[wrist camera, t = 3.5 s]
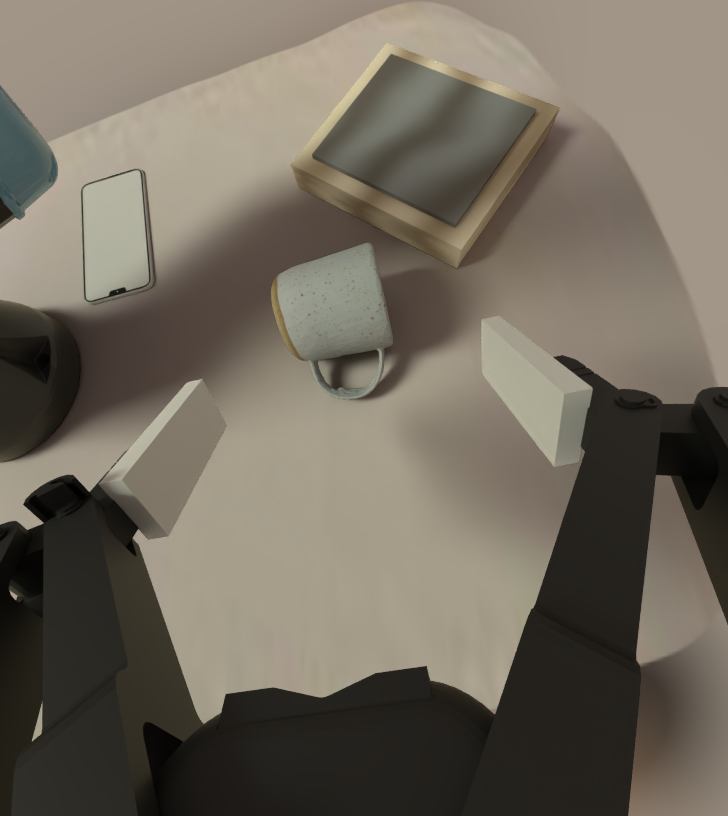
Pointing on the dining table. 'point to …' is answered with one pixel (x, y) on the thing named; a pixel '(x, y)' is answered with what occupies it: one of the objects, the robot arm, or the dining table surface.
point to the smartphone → (115, 237)
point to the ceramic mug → (334, 312)
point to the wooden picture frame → (424, 151)
